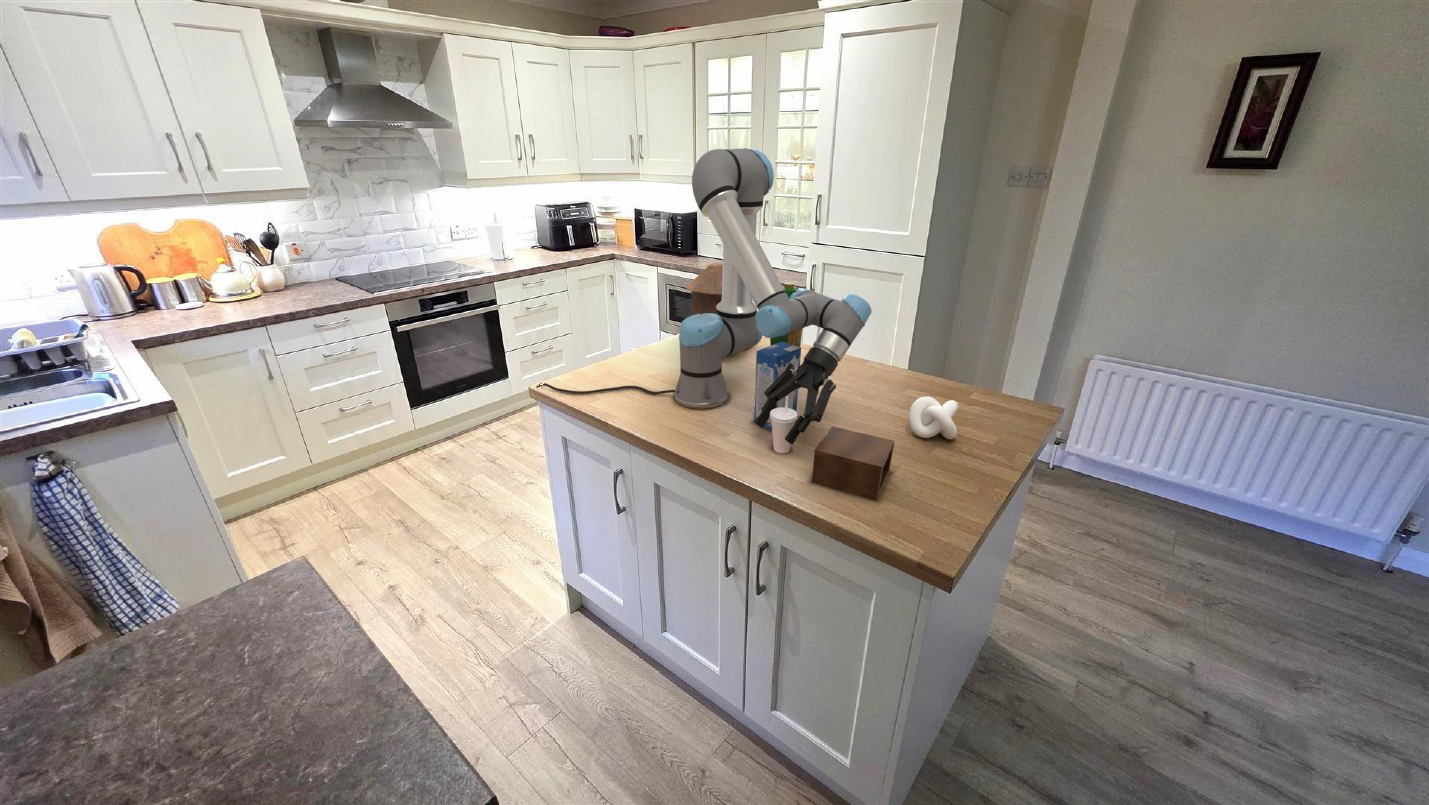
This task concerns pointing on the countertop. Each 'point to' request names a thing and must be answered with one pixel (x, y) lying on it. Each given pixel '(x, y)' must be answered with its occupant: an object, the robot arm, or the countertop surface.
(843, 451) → the open-ended wooden box
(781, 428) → the smoothie
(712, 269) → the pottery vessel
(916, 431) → the white knot sculpture
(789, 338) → the bottle
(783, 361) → the milk carton
